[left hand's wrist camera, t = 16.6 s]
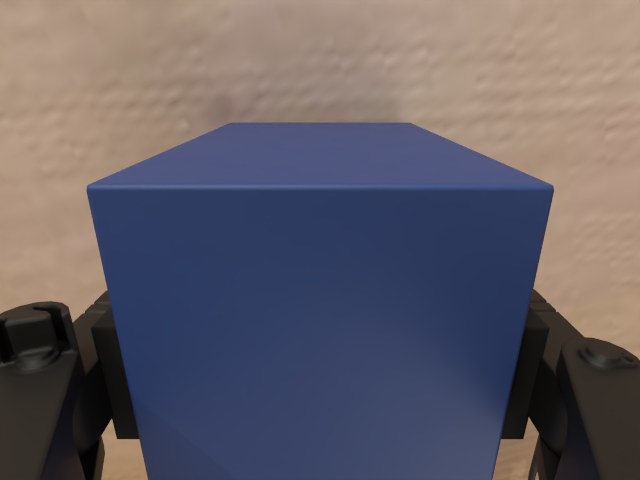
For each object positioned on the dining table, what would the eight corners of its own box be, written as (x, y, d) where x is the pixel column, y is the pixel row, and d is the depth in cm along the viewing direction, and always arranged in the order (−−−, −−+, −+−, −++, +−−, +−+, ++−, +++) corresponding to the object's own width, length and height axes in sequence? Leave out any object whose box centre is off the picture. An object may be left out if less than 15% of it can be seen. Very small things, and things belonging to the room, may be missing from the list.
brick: (244, 312, 18) (162, 555, 9) (229, 122, 15) (82, 184, 6) (396, 312, 18) (478, 556, 9) (411, 122, 15) (558, 184, 6)
